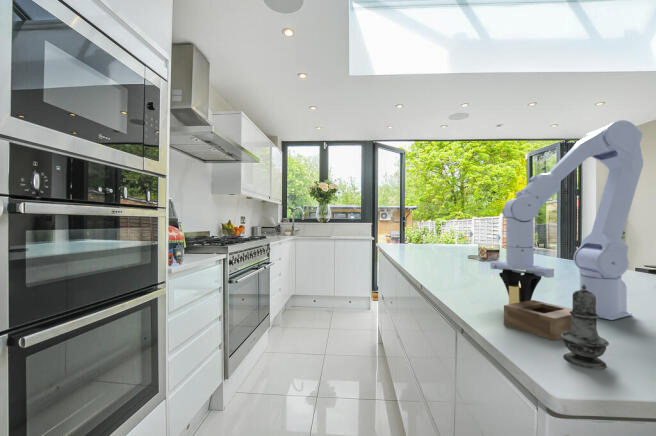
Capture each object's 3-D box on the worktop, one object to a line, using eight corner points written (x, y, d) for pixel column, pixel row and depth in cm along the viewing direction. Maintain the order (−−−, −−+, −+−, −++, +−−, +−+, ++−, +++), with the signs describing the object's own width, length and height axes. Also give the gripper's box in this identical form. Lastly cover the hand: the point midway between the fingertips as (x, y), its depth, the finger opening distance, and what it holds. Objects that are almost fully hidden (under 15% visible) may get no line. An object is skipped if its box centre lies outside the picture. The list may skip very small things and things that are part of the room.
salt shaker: (618, 371, 46) (618, 289, 47) (573, 367, 48) (573, 287, 48) (594, 354, 52) (593, 281, 52) (553, 351, 53) (553, 280, 53)
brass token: (520, 308, 80) (520, 284, 80) (530, 310, 77) (530, 286, 77) (508, 310, 78) (508, 285, 78) (518, 313, 76) (518, 287, 76)
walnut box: (533, 317, 72) (533, 300, 72) (584, 331, 63) (584, 311, 63) (503, 324, 67) (503, 305, 67) (554, 340, 58) (554, 318, 58)
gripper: (482, 245, 82) (482, 297, 82) (540, 250, 69) (540, 312, 69) (500, 244, 86) (500, 294, 85) (559, 248, 72) (559, 308, 72)
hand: (519, 302), depth 78 cm, fingers closed on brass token, 2 cm apart
